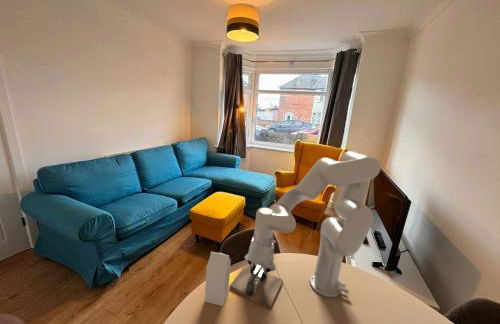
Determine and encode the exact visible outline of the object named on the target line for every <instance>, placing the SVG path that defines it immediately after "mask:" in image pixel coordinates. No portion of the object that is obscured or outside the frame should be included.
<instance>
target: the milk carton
mask: <svg viewBox="0 0 500 324" xmlns="http://www.w3.org/2000/svg"><path fill="white" fill-rule="evenodd" d="M231 261H232V259H231V258H230V255H228V254H225V253H222V252H214V251H210V255H209V259H208V262H207V264H206V272H205V289H204V302H205V303H209V304H212V305H216V306H220V307H223V306H224V303H225V301H226V297H227V295H228V293H229V287H230V273H231Z"/></svg>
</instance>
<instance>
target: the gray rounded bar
mask: <svg viewBox="0 0 500 324" xmlns="http://www.w3.org/2000/svg"><path fill="white" fill-rule="evenodd" d="M262 272H263V267H262V266H259V265H256V269H255V270H254V271H253V273H252V274H251V275H250V277H249V278H248V280H247V284H246V289H247V290H246V293H247V294H248V295H252V294H253V293H255V292H256V291H257V289H258V288H259V286H260V284H261V283H262V282H261V275H262Z"/></svg>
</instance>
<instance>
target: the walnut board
mask: <svg viewBox="0 0 500 324" xmlns="http://www.w3.org/2000/svg"><path fill="white" fill-rule="evenodd" d="M250 271H251V268H250V265H249V264H245V266H244V267H243V268H242V269H241V271H239V273H238V274H237V275H236V276H235V278H234V279H233V280H232V281H231V283H229V288H228V290H229V289H230V290H231V291H233V292H235V293H238V294H239V295H242V296H243V297H245V298H247V299H249V300H252V301H253V302H255V303H257V304H259V305H260V306H263V307H265V308H267V309H269V310H271V308H272V307H273V304H274V302H275V300H276V298H277V295H278V293H279V291H280V290H281V287H282V285H283V283H284V280H283V279H282V278H279V277H277V276H275V275H272V274H271V273H269V272H268V273H267V275H266V279H265V280H263V282H262V283H261V284H260V286H259V288H258V289H257V291H256V292H255V293H253V294H252V295H248V294H247V293H246V290H247V289H246V284H247V280H248V278H249V277H250V275H251V273H250Z"/></svg>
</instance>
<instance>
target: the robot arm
mask: <svg viewBox="0 0 500 324" xmlns="http://www.w3.org/2000/svg"><path fill="white" fill-rule="evenodd" d="M380 172H381V164H380V162H379V160H378V159H377V158H375V157H374V156H372V155H370V154H369V155H368V154H365V153H363V152H359V151H354V150H353V151H352V150H348V151H345V152H344V153H343V154H342V156H341V158H340V161H338V160H335V159H333V158H331V157H330V158H329V157H322V158H319V159H318V160H317V161H316V162H315V163H314V164H313V165H312V167H311V168H310V169H309V170H308V172H307V173H306V174H305V176H304V177H303V178H301V181H299V183H298V184H297V185H296V186H294V187H292V188H291V189H289V190H287V191H286V192H285V193H284V194H283V195H282V196H281V197H280V198H279V199H278V200H277V201H276V203H275V204H274V206H273V208H270V207H260V208H258V209H257V210H256V213H255V222H254V232H253V236H252V239H251V240H250V245H249V247H248V251H247V252H248V253H247V254H245V255H244V259H245V260H246V262H247V263H248V265H250V268H251V271H250V273H251V274H252V273H253V271H254V270H255V269H256V267H257V266H258V265H259V266H262V269H263V272H262V275H261V282H263V280H265V279H266V275H267V273H268V274H269V273H270V272H274V271H276V270H277V266H276V265H275V263H274V261H275V260H274V258H275V257H274V256H275V243H276V239H274V231H276V232H279V233H283V234H285V233H286V234H288V233H291V232H293V231H294V230H295V229H296V228H297V222H296V218H295V217H294V216H293V214H292V212H291V211H292V210H293V209H294V208H295V207H296V206H297V205H298V204H299V203H301V202H304V201H314V200H316V199H317V198H318V197H319V196H320V194H322V192H323V191H324V189H326V187H327V186H328V185H330V186H331V187H332V186H334V187H342V186H343V187H342V189H341V192H340V193H339V196H338V198H337V200H336V202H335V204H334V212H335V214H336V215H337V216H338V217H336V216H329V217H327V218H325V219H324V220H323V221H322V223H321V226H320V241H319V243H320V244H319V249H318V254H317V259H316V263H315V264H316V265H315V270H314V271H315V272H314V273H313V274H312V275H311V276H310V278H309V284H310V286H311V288H312V289H313V290H314V292H316V293H317V294H319V295H321V296H323V297H326V298H336V297H337V296H339V294H340V293H341V292H342V293H345V294H349V292H350V289H349V288H348V287H347V285H346V283H343V282H341V281H340V272H341V267H342V263H343V259H344V257H351V256H353V255H355V254H356V253H357V252H358V251H359V250H360V248H361V246H362V245H363V243H364V241H365V239H366V237H367V236H368V234H369V232H370V230H371V228H372V225H373V223H374V214H373V213H372V212H373V211H372V210H371V209H370V208H369V207H368V206H366V204H364V201H365V198H366V196H367V194H368V191H369V188H370V180H372V179H375V178H376V177H377V176H378V175H379V173H380Z"/></svg>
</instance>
